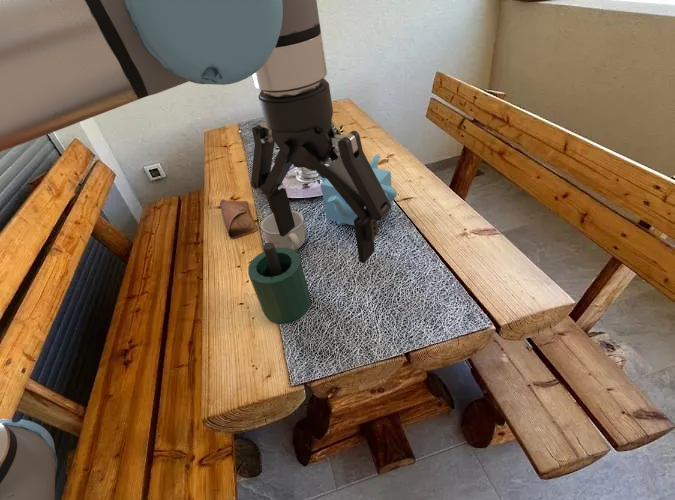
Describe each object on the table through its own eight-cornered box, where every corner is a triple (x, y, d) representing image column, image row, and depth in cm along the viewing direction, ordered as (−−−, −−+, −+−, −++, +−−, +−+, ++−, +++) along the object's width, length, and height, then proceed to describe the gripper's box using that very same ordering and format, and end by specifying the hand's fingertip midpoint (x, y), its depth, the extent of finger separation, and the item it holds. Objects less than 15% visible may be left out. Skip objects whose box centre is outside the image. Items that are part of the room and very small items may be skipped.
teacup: (265, 239, 105) (257, 215, 100) (303, 228, 107) (298, 204, 102) (274, 271, 95) (266, 246, 90) (316, 258, 96) (311, 232, 91)
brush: (287, 310, 83) (268, 253, 73) (275, 304, 85) (256, 248, 75) (297, 299, 85) (280, 243, 75) (285, 294, 87) (267, 238, 77)
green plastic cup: (276, 331, 80) (261, 291, 72) (255, 303, 87) (240, 263, 80) (319, 306, 84) (309, 265, 76) (296, 280, 91) (284, 240, 83)
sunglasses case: (259, 228, 109) (242, 215, 104) (242, 246, 110) (224, 233, 105) (247, 199, 122) (230, 187, 118) (232, 215, 123) (215, 203, 119)
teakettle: (403, 228, 101) (401, 178, 92) (333, 245, 99) (324, 196, 90) (381, 193, 115) (378, 147, 106) (320, 207, 114) (311, 162, 105)
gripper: (419, 77, 36) (420, 251, 50) (235, 69, 49) (275, 209, 62) (380, 107, 32) (392, 289, 45) (188, 89, 44) (242, 235, 58)
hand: (324, 243), depth 54 cm, fingers open, 13 cm apart
